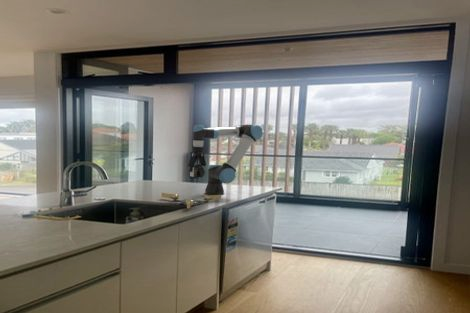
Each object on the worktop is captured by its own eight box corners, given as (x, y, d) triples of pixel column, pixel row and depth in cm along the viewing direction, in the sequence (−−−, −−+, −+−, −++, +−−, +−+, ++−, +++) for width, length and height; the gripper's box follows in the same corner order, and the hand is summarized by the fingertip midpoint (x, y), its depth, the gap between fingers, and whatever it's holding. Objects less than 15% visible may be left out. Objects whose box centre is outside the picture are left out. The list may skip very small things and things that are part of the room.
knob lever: (179, 200, 251) (180, 194, 251) (175, 201, 247) (175, 195, 246) (164, 197, 257) (164, 192, 257) (159, 198, 252) (160, 193, 252)
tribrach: (190, 196, 270) (190, 190, 269) (221, 200, 258) (222, 194, 257) (153, 205, 232) (153, 198, 231) (188, 211, 220) (189, 203, 219)
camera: (201, 179, 255) (201, 165, 254) (187, 178, 257) (188, 164, 256) (206, 176, 268) (206, 163, 267) (193, 176, 270) (193, 162, 269)
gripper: (202, 146, 274) (201, 173, 275) (183, 146, 251) (182, 176, 253) (211, 146, 270) (210, 174, 272) (192, 146, 248) (191, 177, 249)
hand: (196, 175), depth 262 cm, fingers closed on camera, 13 cm apart
